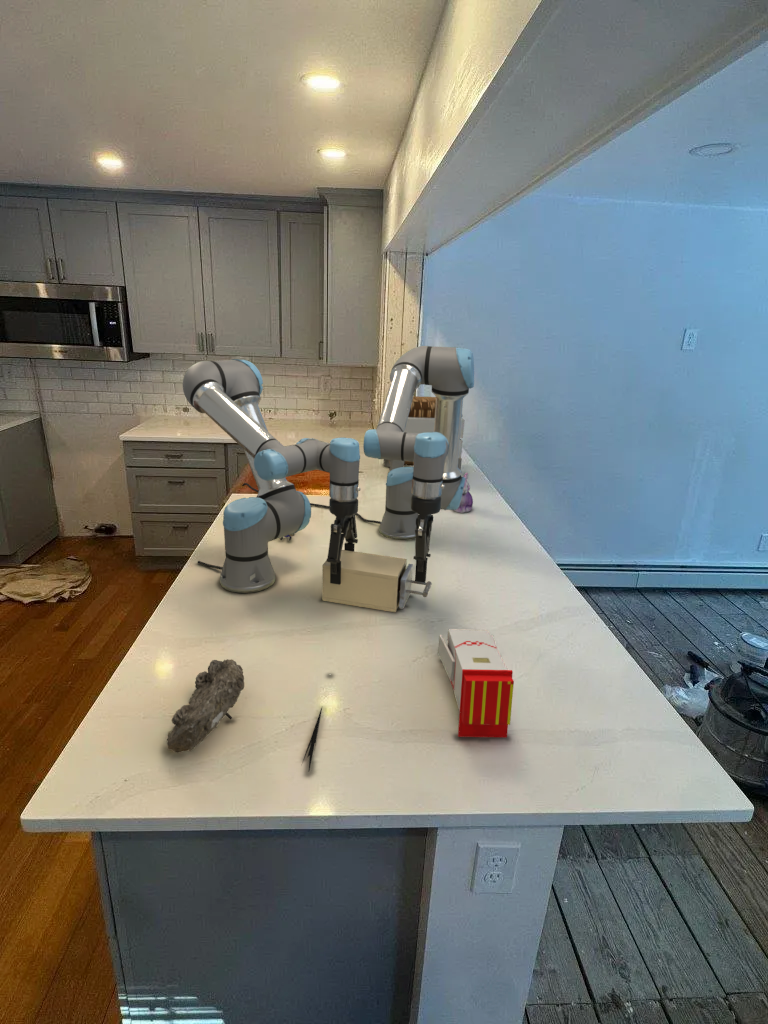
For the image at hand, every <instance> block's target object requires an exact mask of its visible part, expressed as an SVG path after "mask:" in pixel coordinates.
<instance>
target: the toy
mask: <svg viewBox="0 0 768 1024" xmlns="http://www.w3.org/2000/svg"><path fill="white" fill-rule="evenodd" d="M446 640H447V643H446V641H445V639H444V636H443V635H442V634H439V637H438V646H437V656H438V657H439V659H440V661H441V663H442V666H443V668H444V670H445V672H446V674H447V677H448V679H449V681H450V684H451V687H452V690H453V693H454V697H455V701H456V705H457V708H458V711H459V714H458V715H459V716H458V730H457V731H458V732H457V737H458V738H508V731H509V726H510V725H511V717H512V707H513V697H514V696H513V695H514V684H515V680H514V679H513V673H514V671H513V670H512V669H508V667H507V665H506V662H505V661H504V659H503V658H502V655H501V653H500V651H499V649H498V647H497V643H496V639H495V637H494V635H493V634H491V632H490V631H489V629H467V628H466V629H465V628H463V629H461V628H460V629H459V628H448V630H447V639H446Z"/></svg>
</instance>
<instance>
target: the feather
mask: <svg viewBox="0 0 768 1024" xmlns="http://www.w3.org/2000/svg"><path fill="white" fill-rule="evenodd" d="M329 675H330V676H331V675H332V674H331V673H330V674H329ZM322 710H323V707H321V708H320V710H319V713H318V716H317V719H316V723H315V725H314V728H313V731H312V733H311V737H310V739H309V742H308V745H307V748H306V751H305V754H304V757H303V760H302V763H301V767H302V765H303V763H304V761H305V758H308V759H309V760H308V762H307V763H308V764H307V766H308V771H310V770H311V766H312V765H311V764H312V760H313V757H315V756H314V755H315V751H316V749H315V746H317V739H318V733H319V729H320V722H321V717H322V712H323V711H322ZM313 754H314V755H313ZM306 755H307V757H306Z"/></svg>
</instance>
